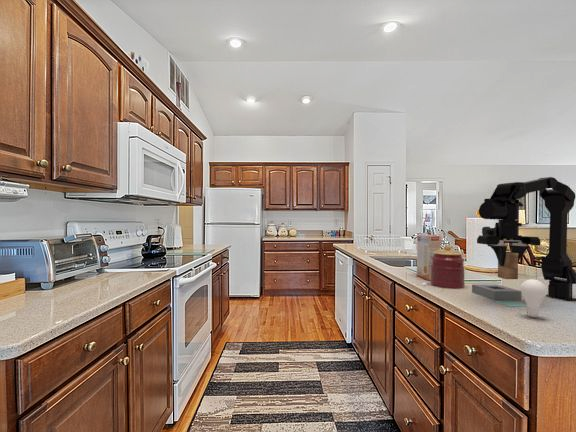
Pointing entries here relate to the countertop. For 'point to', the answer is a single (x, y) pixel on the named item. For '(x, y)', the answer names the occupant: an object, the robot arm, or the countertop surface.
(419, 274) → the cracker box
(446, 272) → the canister
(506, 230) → the robot arm
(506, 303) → the mat
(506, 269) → the plug
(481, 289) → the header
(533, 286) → the lightbulb
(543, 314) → the countertop surface
